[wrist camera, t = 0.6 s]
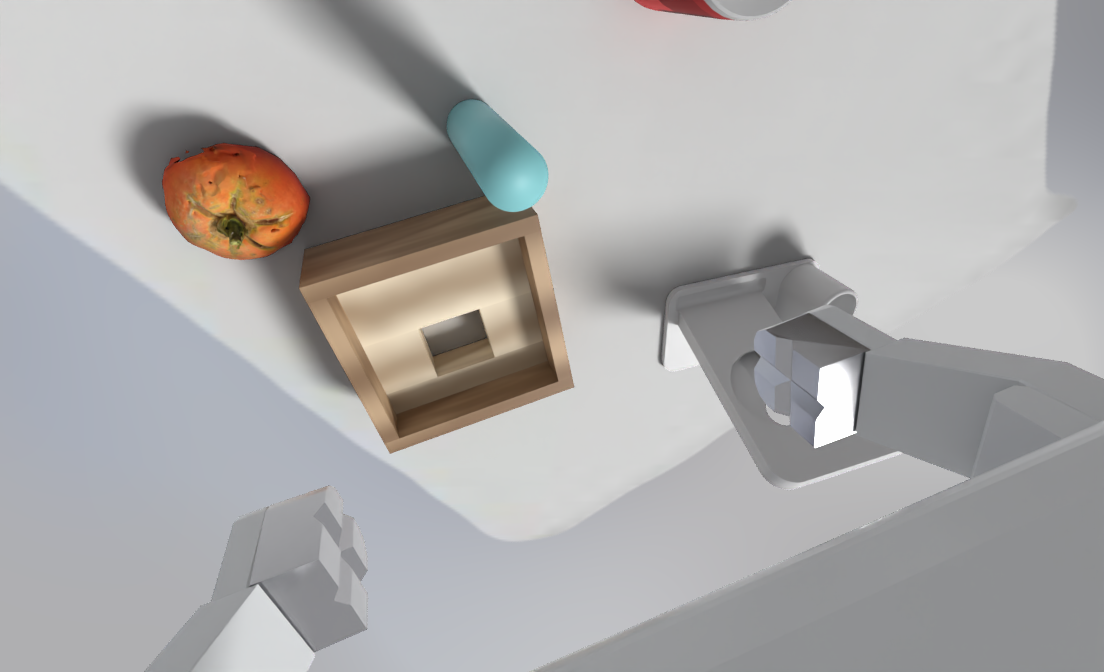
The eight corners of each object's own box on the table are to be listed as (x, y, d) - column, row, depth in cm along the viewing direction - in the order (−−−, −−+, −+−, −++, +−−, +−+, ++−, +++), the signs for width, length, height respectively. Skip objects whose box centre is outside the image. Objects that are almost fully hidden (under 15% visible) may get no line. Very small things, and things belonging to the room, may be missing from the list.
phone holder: (820, 255, 55) (987, 354, 41) (799, 336, 61) (939, 448, 46) (666, 288, 51) (791, 410, 37) (660, 371, 57) (765, 505, 42)
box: (304, 249, 39) (298, 288, 34) (515, 186, 41) (537, 214, 36) (385, 406, 48) (389, 453, 43) (552, 348, 50) (574, 387, 46)
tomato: (135, 237, 34) (154, 209, 28) (170, 140, 35) (195, 97, 30) (269, 281, 39) (306, 264, 34) (294, 195, 40) (333, 166, 35)
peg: (439, 106, 36) (473, 154, 27) (490, 93, 37) (541, 135, 27) (455, 159, 38) (491, 220, 29) (502, 145, 39) (553, 201, 29)
